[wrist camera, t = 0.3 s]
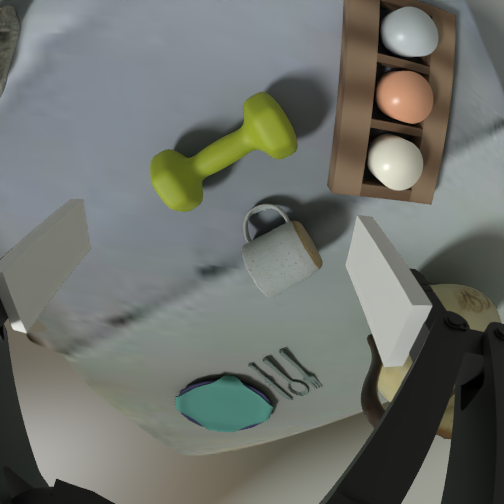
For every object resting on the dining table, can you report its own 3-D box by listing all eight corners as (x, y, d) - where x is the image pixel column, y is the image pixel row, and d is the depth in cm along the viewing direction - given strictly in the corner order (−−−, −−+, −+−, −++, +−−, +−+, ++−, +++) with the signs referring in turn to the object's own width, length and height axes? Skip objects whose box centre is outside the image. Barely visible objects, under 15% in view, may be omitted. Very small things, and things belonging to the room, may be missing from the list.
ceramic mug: (321, 249, 45) (330, 280, 38) (271, 277, 47) (272, 310, 40) (280, 187, 40) (284, 209, 34) (227, 220, 43) (221, 247, 36)
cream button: (369, 130, 35) (381, 135, 31) (412, 138, 35) (427, 144, 31) (362, 177, 38) (372, 187, 34) (404, 182, 38) (417, 193, 34)
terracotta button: (376, 66, 31) (388, 65, 27) (420, 77, 31) (435, 78, 27) (371, 114, 34) (383, 118, 30) (414, 122, 34) (429, 128, 30)
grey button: (379, 7, 27) (391, 0, 23) (423, 20, 27) (438, 16, 23) (377, 51, 30) (390, 48, 26) (421, 62, 30) (437, 62, 26)
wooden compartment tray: (344, -12, 27) (350, -18, 25) (444, 17, 27) (455, 15, 25) (327, 185, 40) (332, 193, 37) (421, 196, 40) (431, 204, 37)
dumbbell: (268, 86, 34) (271, 86, 28) (300, 143, 38) (309, 156, 31) (153, 154, 38) (134, 169, 32) (187, 204, 42) (174, 228, 35)
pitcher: (476, 322, 52) (531, 418, 30) (374, 375, 58) (402, 485, 36) (460, 234, 43) (555, 340, 21) (332, 302, 49) (366, 445, 28)
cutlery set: (158, 392, 62) (157, 400, 60) (279, 337, 54) (280, 347, 52) (218, 431, 70) (218, 439, 68) (330, 389, 62) (332, 398, 60)
